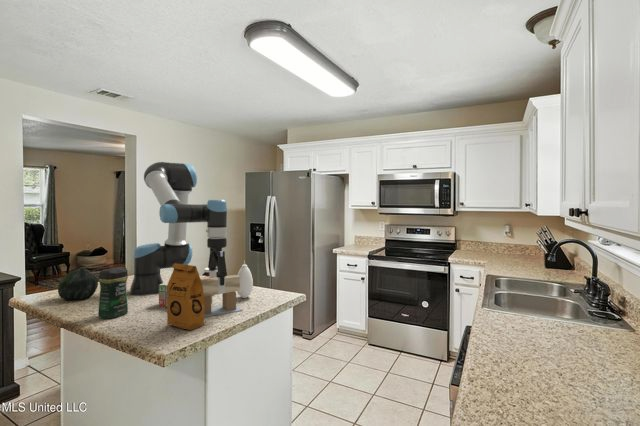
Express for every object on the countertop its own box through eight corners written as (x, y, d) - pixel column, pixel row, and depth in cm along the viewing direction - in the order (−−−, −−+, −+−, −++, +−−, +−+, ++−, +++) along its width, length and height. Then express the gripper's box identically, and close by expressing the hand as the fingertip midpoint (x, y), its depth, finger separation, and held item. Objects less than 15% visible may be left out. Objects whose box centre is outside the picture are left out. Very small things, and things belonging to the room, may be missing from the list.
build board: (191, 311, 135) (191, 293, 135) (235, 304, 145) (235, 287, 145) (196, 318, 127) (196, 299, 127) (242, 310, 136) (242, 292, 136)
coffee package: (186, 333, 112) (186, 268, 111) (162, 326, 118) (162, 264, 117) (209, 324, 120) (209, 263, 120) (186, 318, 126) (186, 260, 126)
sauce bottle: (254, 298, 154) (254, 260, 153) (237, 300, 150) (237, 261, 150) (250, 294, 161) (250, 257, 160) (234, 296, 157) (234, 258, 157)
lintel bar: (193, 295, 131) (193, 280, 131) (235, 288, 143) (235, 274, 143) (196, 297, 128) (196, 282, 128) (239, 290, 140) (239, 276, 140)
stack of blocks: (158, 306, 142) (158, 277, 141) (166, 302, 148) (166, 274, 148) (207, 308, 140) (207, 278, 140) (212, 303, 146) (212, 275, 146)
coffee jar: (110, 320, 124) (110, 270, 123) (94, 318, 126) (94, 269, 126) (132, 312, 133) (131, 266, 132) (116, 310, 135) (116, 265, 135)
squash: (58, 284, 156) (58, 263, 148) (96, 281, 165) (99, 261, 157) (57, 310, 148) (57, 289, 140) (97, 305, 157) (100, 286, 149)
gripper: (200, 235, 144) (200, 284, 144) (215, 240, 122) (215, 298, 123) (218, 234, 148) (218, 282, 148) (235, 240, 126) (235, 295, 127)
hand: (217, 289), depth 136 cm, fingers open, 13 cm apart
